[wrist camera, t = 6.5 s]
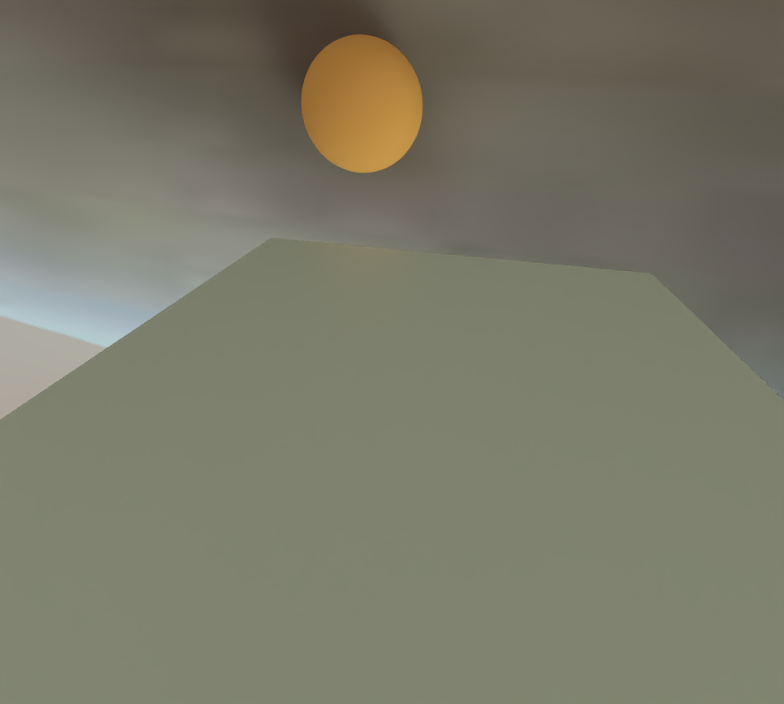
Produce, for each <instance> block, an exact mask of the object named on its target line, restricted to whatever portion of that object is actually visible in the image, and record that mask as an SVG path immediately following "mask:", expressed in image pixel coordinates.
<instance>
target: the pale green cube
mask: <svg viewBox="0 0 784 704" xmlns="http://www.w3.org/2000/svg"><path fill="white" fill-rule="evenodd" d="M0 704H784V400H783V399H782V398H781V397H780V396H779V395H778V394H777V393H776V392H775V391H774V390H773V389H772V388H771V387H769V386H768V385H767V384H766V383H765V382H764V381H763V380H762V379H761V378H760V377H759V376H758V375H757V374H756V373H755V372H754V371H753V370H752V369H751V368H750V367H749V366H748V365H747V364H745V363H744V362H743V361H742V360H741V359H740V358H739V357H738V356H737V355H736V354H735V353H734V352H733V351H732V350H731V349H730V348H729V347H728V346H727V345H726V344H725V343H724V342H723V341H722V340H720V339H719V338H718V337H717V336H716V335H715V334H714V333H713V332H712V331H711V330H710V329H709V328H708V327H707V326H706V325H705V324H704V323H703V322H702V321H701V320H700V319H699V318H698V317H696V316H695V315H694V314H693V313H692V312H691V311H690V310H689V309H688V308H687V307H686V306H685V305H684V304H683V303H682V302H681V301H680V300H679V299H678V298H677V297H676V296H675V295H674V294H673V293H671V292H670V291H669V290H668V289H667V288H666V287H665V286H664V285H663V284H662V283H661V282H660V281H659V280H658V279H657V278H656V277H655V276H654V275H653V274H652V273H643V272H632V271H621V270H610V269H600V268H589V267H578V266H567V265H557V264H546V263H535V262H525V261H514V260H503V259H492V258H482V257H471V256H460V255H450V254H439V253H428V252H417V251H407V250H396V249H385V248H375V247H364V246H353V245H342V244H332V243H321V242H310V241H299V240H289V239H278V238H270V239H269V240H267V241H266V242H264V243H263V244H261V245H260V246H258V247H257V248H255V249H254V250H252V251H251V252H249V253H248V254H246V255H245V256H243V257H242V258H240V259H239V260H238V261H236V262H235V263H233V264H232V265H230V266H229V267H227V268H226V269H224V270H223V271H221V272H220V273H218V274H217V275H215V276H214V277H212V278H211V279H209V280H208V281H206V282H205V283H203V284H202V285H200V286H199V287H197V288H196V289H194V290H193V291H191V292H190V293H188V294H187V295H185V296H184V297H182V298H181V299H179V300H178V301H176V302H175V303H173V304H172V305H170V306H169V307H167V308H166V309H164V310H163V311H161V312H160V313H158V314H157V315H156V316H154V317H153V318H151V319H150V320H148V321H147V322H145V323H144V324H142V325H141V326H139V327H138V328H136V329H135V330H133V331H132V332H130V333H129V334H127V335H126V336H124V337H123V338H121V339H120V340H118V341H117V342H115V343H114V344H112V345H111V346H109V347H108V348H106V349H105V350H103V351H102V352H100V353H99V354H97V355H96V356H95V357H93V358H91V359H90V360H88V361H87V362H85V363H84V364H83V365H81V366H80V367H78V368H77V369H75V370H74V371H72V372H71V373H69V374H68V375H66V376H65V377H63V378H62V379H60V380H59V381H57V382H56V383H54V384H53V385H51V386H50V387H48V388H47V389H45V390H44V391H42V392H41V393H39V394H38V395H36V396H35V397H33V398H32V399H30V400H29V401H28V402H26V403H24V404H23V405H21V406H20V407H18V408H17V409H16V410H14V411H12V412H11V413H10V414H8V415H6V416H5V417H4V418H2V419H0Z"/></svg>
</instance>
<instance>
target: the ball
mask: <svg viewBox="0 0 784 704" xmlns="http://www.w3.org/2000/svg"><path fill="white" fill-rule="evenodd" d="M301 108H302V116H303V120H304V124H305V127H306V130H307V132H308V134H309V136H310V138H311V140H312V142H313V143H314V145H315V147H316V148H317V149H318V150H319V152H320V153H321V154H322V155H323V156H324V157H325V158H326V159H328V160H329V161H330V162H332V163H333V164H335V165H337V166H338V167H341V168H343V169H345V170H348V171H352V172H358V173H370V172H376V171H379V170H382V169H385V168H387V167H389V166H391V165H393V164H394V163H396V162H397V161H398V160H399V159H400V158H402V157H403V156H404V155H405V153H406V152H407V151H408V150H409V148H410V147H411V145H412V144H413V142H414V140H415V138H416V136H417V134H418V131H419V128H420V124H421V120H422V112H423V99H422V91H421V87H420V83H419V80H418V78H417V75H416V73H415V71H414V69H413V67H412V65H411V64H410V62H409V61H408V60H407V58H406V57H405V56H404V55H403V54H402V53H401V52H400V51H399V50H398V49H397V48H396V47H395V46H393V45H392V44H390V43H389V42H387V41H385V40H383V39H380V38H378V37H374V36H370V35H361V34H358V35H350V36H346V37H342V38H340V39H338V40H336V41H334V42H332V43H331V44H329V45H327V46H326V47H325V48H324V49H323V50H322V51H320V53H319V54H318V55H317V56H316V57H315V59H314V60H313V62H312V63H311V65H310V67H309V69H308V71H307V73H306V76H305V79H304V83H303V88H302V96H301Z"/></svg>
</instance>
